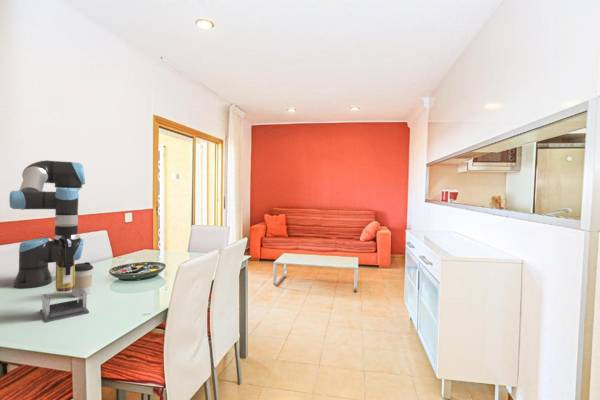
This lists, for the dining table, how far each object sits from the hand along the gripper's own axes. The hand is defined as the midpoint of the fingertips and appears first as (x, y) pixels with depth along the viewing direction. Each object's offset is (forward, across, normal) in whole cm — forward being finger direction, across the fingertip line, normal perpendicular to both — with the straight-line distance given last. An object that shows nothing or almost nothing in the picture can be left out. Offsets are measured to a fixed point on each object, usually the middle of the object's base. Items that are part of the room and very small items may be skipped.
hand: (65, 280), depth 129 cm
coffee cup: (+13, -20, +10) cm, 26 cm away
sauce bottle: (+4, 0, 0) cm, 4 cm away
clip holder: (+13, 0, 0) cm, 13 cm away
